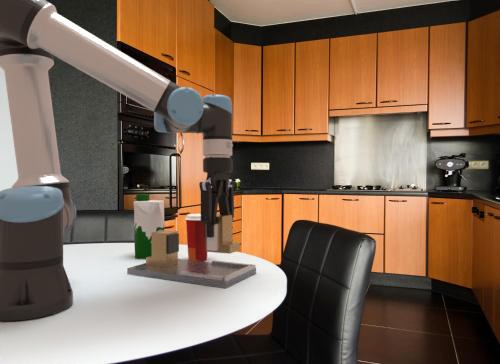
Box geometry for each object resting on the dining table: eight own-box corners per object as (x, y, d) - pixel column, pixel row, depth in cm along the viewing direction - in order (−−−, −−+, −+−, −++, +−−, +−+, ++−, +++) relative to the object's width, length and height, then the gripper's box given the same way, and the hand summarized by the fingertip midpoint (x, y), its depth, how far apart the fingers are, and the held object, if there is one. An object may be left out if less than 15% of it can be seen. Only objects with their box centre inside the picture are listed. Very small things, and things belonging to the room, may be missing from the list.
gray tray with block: (225, 288, 91) (225, 242, 91) (127, 273, 104) (127, 234, 104) (256, 273, 105) (256, 233, 105) (166, 262, 118) (166, 227, 118)
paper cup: (212, 257, 125) (212, 213, 125) (207, 262, 118) (207, 216, 117) (188, 257, 126) (188, 213, 126) (181, 262, 118) (181, 215, 118)
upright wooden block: (229, 253, 96) (229, 216, 96) (203, 251, 100) (203, 215, 100) (239, 250, 101) (239, 215, 101) (214, 248, 104) (213, 214, 104)
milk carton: (139, 253, 132) (139, 193, 131) (166, 253, 131) (166, 193, 131) (131, 259, 123) (131, 195, 123) (160, 259, 123) (160, 195, 122)
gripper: (211, 155, 91) (211, 255, 91) (247, 158, 107) (247, 243, 107) (184, 156, 94) (185, 253, 95) (223, 158, 110) (223, 242, 111)
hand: (218, 248), depth 101 cm, fingers closed on upright wooden block, 5 cm apart
